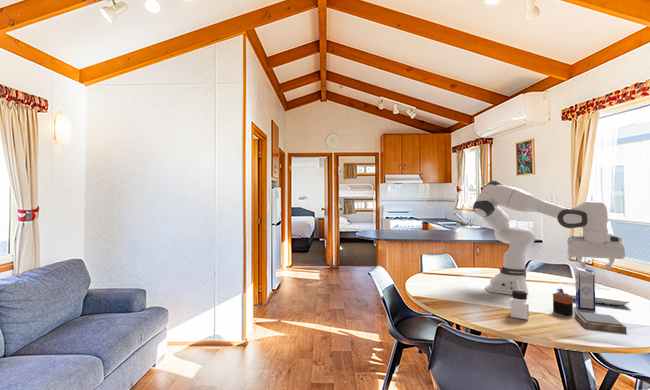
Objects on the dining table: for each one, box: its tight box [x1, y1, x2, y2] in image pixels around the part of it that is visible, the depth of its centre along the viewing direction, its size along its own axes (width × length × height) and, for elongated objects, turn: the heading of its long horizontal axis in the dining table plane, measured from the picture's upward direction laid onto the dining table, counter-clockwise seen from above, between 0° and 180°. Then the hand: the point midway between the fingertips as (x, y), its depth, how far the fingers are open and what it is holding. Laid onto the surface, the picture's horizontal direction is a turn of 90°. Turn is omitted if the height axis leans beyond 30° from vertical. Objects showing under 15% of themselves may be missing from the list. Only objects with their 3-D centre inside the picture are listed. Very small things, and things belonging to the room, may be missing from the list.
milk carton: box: [574, 266, 596, 312], centre depth 169 cm, size 7×7×20 cm
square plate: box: [557, 283, 630, 306], centre depth 188 cm, size 27×27×4 cm
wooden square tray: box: [574, 311, 627, 334], centre depth 147 cm, size 14×14×3 cm
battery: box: [552, 291, 574, 317], centre depth 161 cm, size 4×7×10 cm, turn 21°
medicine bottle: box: [510, 290, 529, 321], centre depth 158 cm, size 7×7×12 cm
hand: (595, 267), depth 150 cm, fingers open, 8 cm apart
